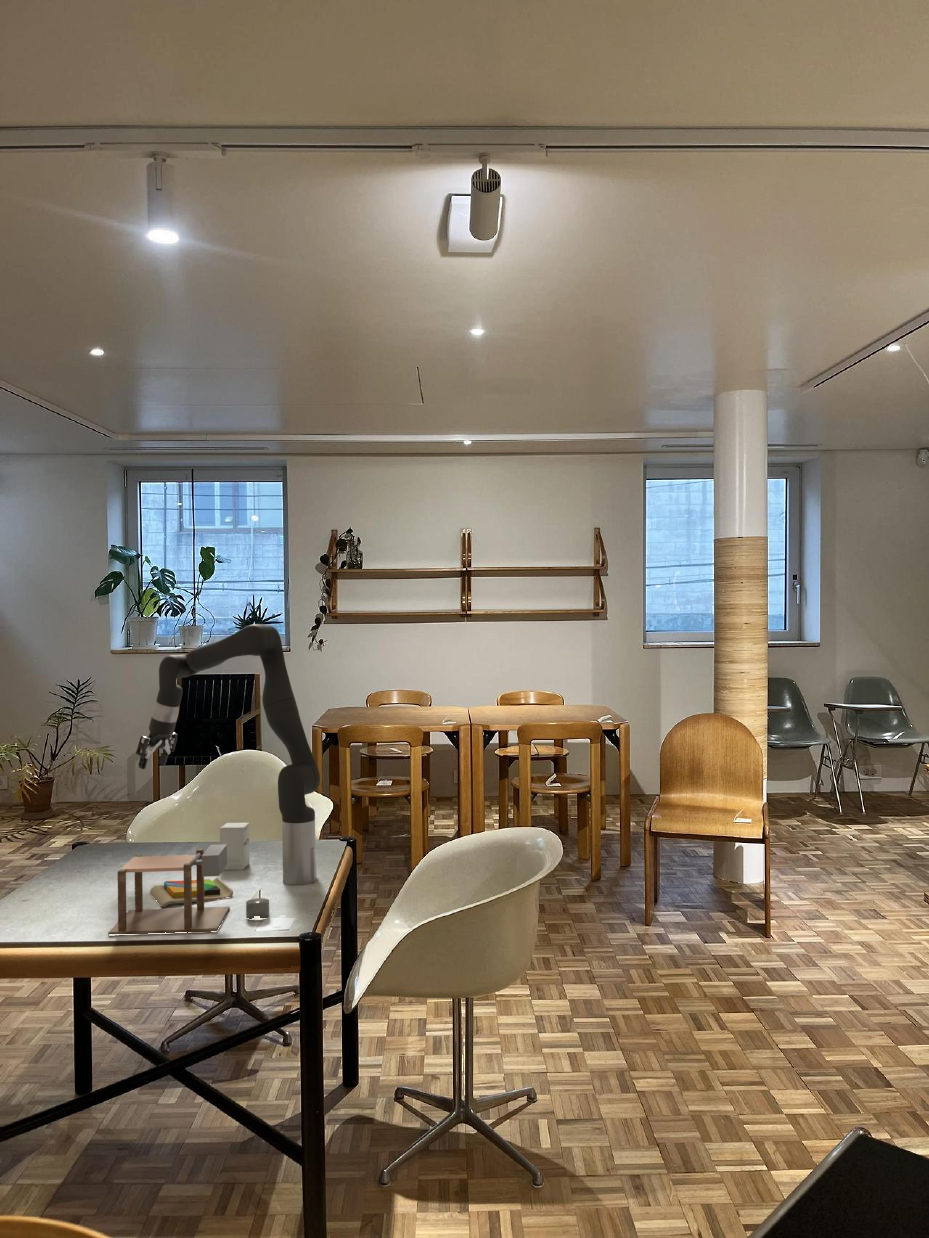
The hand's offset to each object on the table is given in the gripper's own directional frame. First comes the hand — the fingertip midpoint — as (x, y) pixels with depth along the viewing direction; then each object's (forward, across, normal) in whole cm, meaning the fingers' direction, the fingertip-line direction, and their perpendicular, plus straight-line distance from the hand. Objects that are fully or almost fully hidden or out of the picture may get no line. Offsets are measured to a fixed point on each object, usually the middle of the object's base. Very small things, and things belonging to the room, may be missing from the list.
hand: (152, 766), depth 286 cm
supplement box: (+20, +5, -36) cm, 41 cm away
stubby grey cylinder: (+8, -32, -70) cm, 77 cm away
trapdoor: (+1, -43, -51) cm, 67 cm away
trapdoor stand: (+13, -43, -54) cm, 71 cm away
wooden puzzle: (+18, -23, -43) cm, 52 cm away
